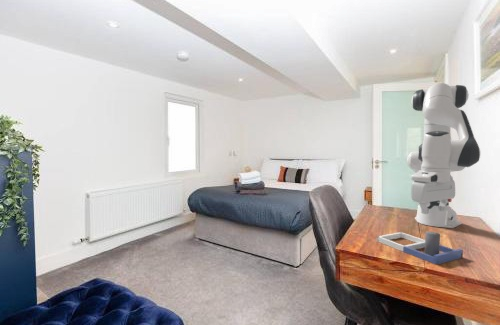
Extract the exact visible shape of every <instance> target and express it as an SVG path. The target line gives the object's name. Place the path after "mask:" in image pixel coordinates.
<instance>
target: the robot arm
mask: <svg viewBox="0 0 500 325" xmlns="http://www.w3.org/2000/svg"><path fill="white" fill-rule="evenodd" d="M469 94H470V93H469V91H468V89H467V87H466V86H465V85H460V84H456V85H449V84H447V83H444V82H438V83H434V84H432V85H430V86H429V87H428V88H424V89H418V90H416V91H414V93H413V94H412V96H411V100H410V104H411V107H412V108H413V110H414V111H416V112H417V111H418V112H422V113H423V114H422V115H423V117H424V119H423V121H424V122H423V123H424V124H423V141H422V143H420V145H419V146H418V150H414V151H410V153H409V154H408V155H407V156H406V164H407V166H408V167H409V168H410V169H411V170H413V171H414V172H415V173H413V174H412V175H411V181H412V183H411V193H410V195H411V197H410V198H411V200H412V202H414V203H418V205H417V210H416V216H415V217H414V219H415V221H416V222H417V223H418V224H421V225H426V226H430V227H431V226H432V227H438V228H446V229H447V228H448V229H454V228H455V227H458V226H460V225H463V222H462V221H461V220H458V219H457V212H456V211H455V210H454V209H453V208H452V207H451V206H450V203H452V199H454V198H455V196H456V182H455V180H454V178H453V176H452V175H451V173H452V172H453V173H454V172H461V171H464V169H465V168H470V167H471V166H473V165H474V166H475V164H477V163H478V162H479V161H480V158H481V148H480V146H479V143H478V142H477V140H476V138H475V136H474V133H473V130H472V126H471V124H470V122H469V121H470V120H469V119H468V116H467V114H466V112H465V111H464V110H463V109H461V108H462V107H464V106H465V105H466V103H467V101H468V99H469ZM451 128H452V129H454V130H455V131H456V133H457V136H458V139H459V140H452V137H451V136H452V135H451Z"/></svg>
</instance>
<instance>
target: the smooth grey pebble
mask: <svg viewBox="0 0 500 325" xmlns="http://www.w3.org/2000/svg"><path fill="white" fill-rule="evenodd" d="M424 237H425V238H424V240H425V248H424V253H425V254H428V255H430V256H433V257H434V255H436V254H440V251H439V245H441V244H440V243H441V242H440V240H441V239H440V238H441V234H440V233H439V232H435V231H429V230H427V231H425V236H424Z"/></svg>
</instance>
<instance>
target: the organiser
mask: <svg viewBox="0 0 500 325" xmlns="http://www.w3.org/2000/svg"><path fill="white" fill-rule="evenodd" d="M400 238H402V239H405V240H408V241H411V242H413V243H411V244H405V245H403V244H401V243H397V242H396V241H393V240H396V239H400ZM376 242H379V243H381V244H383V245H386V246H389V247H391V248H393V249H396V250H398V251H400V252H403V253H406V254H408V255H412V256H413V257H416V258H418V259H420V260H422V261H423V260H424V261H425V262H428V263H431V264H433V265H441V264H445V263H448V262H452V261H455V260H458V259H463V256H464V249H462V248H457V249H455V248H451V247H448V246H445V245H442V244H440V245H439V254H436V255H434V257H433V256H430V255H428V254H425V252H423V251H419V250H420V249H425V238H424V239H423V238H421V237H418V236H414V235H411V234H408V233H405V232H403V231H399V232H394V233H389V234H383V235H377V236H376ZM440 252H441V253H440Z"/></svg>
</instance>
